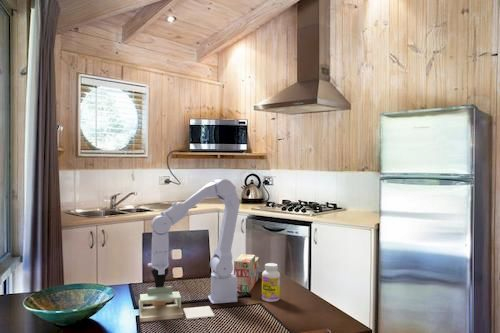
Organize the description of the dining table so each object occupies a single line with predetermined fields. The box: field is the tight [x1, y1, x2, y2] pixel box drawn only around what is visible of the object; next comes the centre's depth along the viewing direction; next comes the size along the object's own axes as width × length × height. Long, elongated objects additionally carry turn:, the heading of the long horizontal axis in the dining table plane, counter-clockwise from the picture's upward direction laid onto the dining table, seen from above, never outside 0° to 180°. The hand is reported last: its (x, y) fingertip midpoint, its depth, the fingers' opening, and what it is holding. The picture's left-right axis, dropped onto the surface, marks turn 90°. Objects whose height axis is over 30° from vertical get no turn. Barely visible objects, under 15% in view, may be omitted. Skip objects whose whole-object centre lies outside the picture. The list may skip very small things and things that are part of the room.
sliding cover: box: [139, 285, 182, 311], centre depth 131 cm, size 13×6×6 cm, turn 107°
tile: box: [182, 305, 216, 321], centre depth 129 cm, size 9×9×1 cm
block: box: [152, 300, 167, 306], centre depth 135 cm, size 4×4×4 cm
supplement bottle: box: [261, 262, 281, 303], centre depth 145 cm, size 7×7×13 cm
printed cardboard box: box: [233, 253, 260, 294], centre depth 162 cm, size 21×6×12 cm, turn 168°
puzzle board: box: [138, 299, 185, 323], centre depth 132 cm, size 13×17×1 cm
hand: (159, 290), depth 135 cm, fingers closed
